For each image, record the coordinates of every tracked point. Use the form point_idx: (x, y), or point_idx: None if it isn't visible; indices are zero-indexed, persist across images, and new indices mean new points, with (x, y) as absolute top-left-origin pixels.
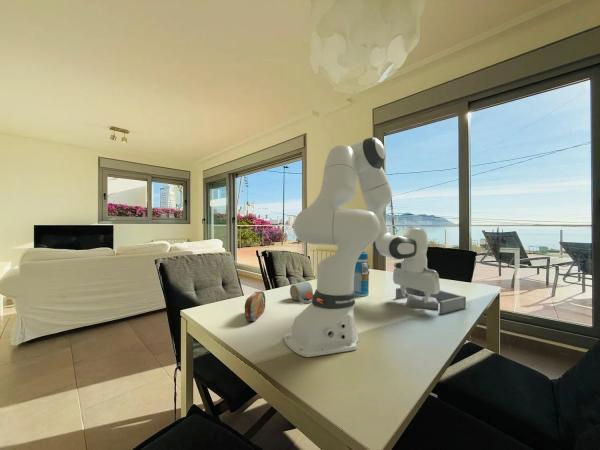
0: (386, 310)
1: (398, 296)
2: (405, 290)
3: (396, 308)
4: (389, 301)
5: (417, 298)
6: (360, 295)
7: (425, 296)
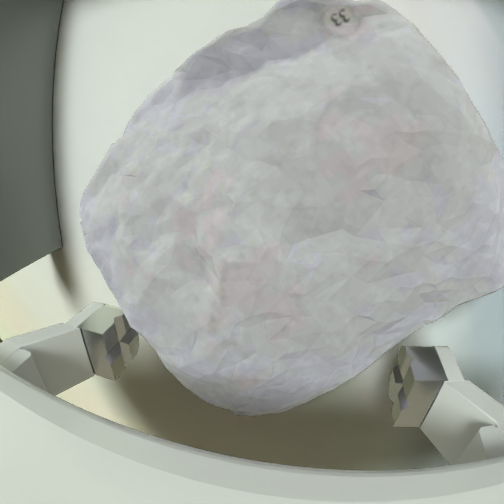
0: None
1: (45, 247)
2: (65, 346)
3: (240, 444)
4: None
5: (312, 385)
6: None
7: (452, 457)
